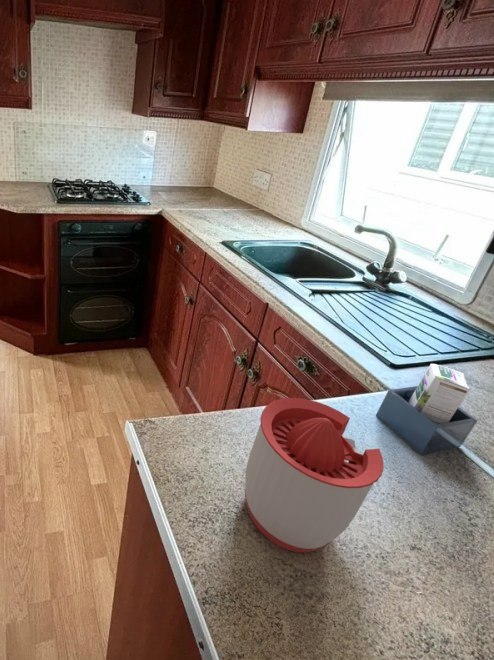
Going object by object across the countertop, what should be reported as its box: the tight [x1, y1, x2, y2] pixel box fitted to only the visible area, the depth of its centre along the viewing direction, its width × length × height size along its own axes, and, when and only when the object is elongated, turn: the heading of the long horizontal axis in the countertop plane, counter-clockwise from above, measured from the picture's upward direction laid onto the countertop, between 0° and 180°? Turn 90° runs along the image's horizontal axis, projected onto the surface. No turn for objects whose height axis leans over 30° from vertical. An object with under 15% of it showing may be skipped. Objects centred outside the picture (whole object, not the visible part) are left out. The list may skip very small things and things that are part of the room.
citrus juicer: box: [244, 397, 385, 554], centre depth 58 cm, size 16×17×20 cm
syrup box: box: [408, 363, 471, 425], centre depth 80 cm, size 6×6×14 cm
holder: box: [375, 385, 478, 456], centre depth 81 cm, size 11×11×7 cm
